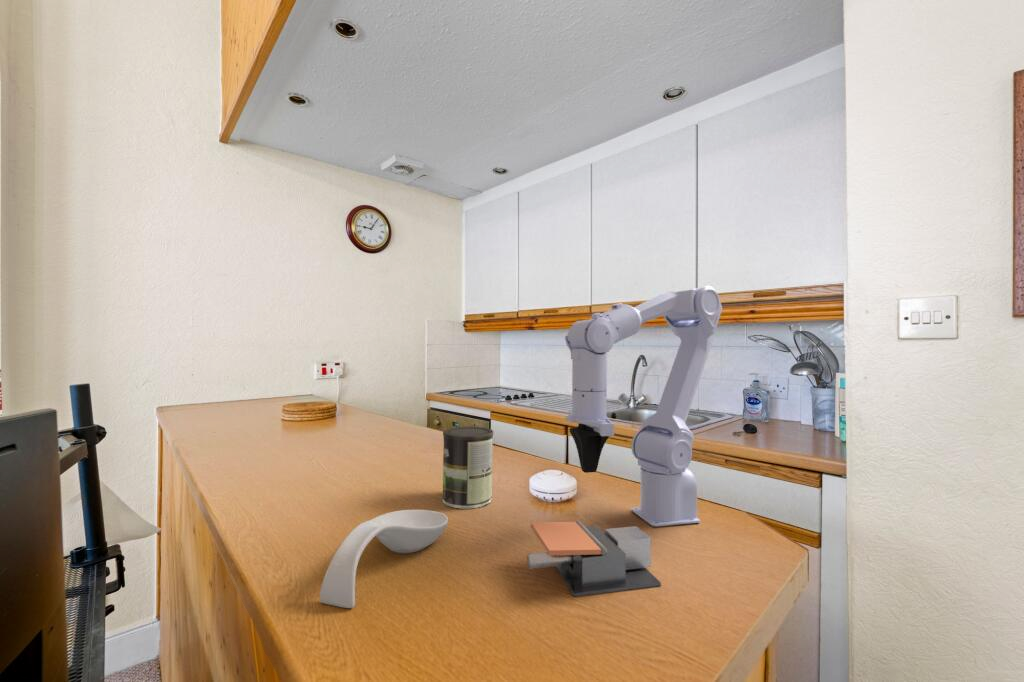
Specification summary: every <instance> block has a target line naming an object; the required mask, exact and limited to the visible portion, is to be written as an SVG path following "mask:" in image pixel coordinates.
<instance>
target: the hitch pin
mask: <svg viewBox="0 0 1024 682" xmlns="http://www.w3.org/2000/svg"><path fill="white" fill-rule="evenodd" d="M604 533H605V534H606V535H607V536H608V537H609V538H610V539H611V540H612V541H613V542H614V543H615V544H616V545H617V546H618V547H619V548H620V549H621V550H622V551H623V552H624V553H626V570H629V569H638V568H646V569H648V568H651V567H652V538H651V537H650V536H649V535H648V534H647V533H645V532H644V531H643V530H642V529H640V528H639V527H638V526H637V525H635V526H633V525H632V526H624V527H612V528H604ZM526 557H527V559H526V560H527V566H528V569H529V570H531V569H532V570H533V569H540V568H541V569H542V568H550V567H555V566H561V565H571V564H573V555H549V554H548V553H547V551H545V552H544V551H543V552H535V553H533V552H532V553H528V554H527V556H526Z"/></svg>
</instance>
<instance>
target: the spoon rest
mask: <svg viewBox="0 0 1024 682" xmlns="http://www.w3.org/2000/svg"><path fill="white" fill-rule="evenodd" d="M448 524H449V518H448V516H447V515H446V514H445V513H443V512H440V511H435V510H428V509H401V510H396V511H391V512H390V511H389V512H386V513H382V514H381V515H377V516H376V517H374V518H372V519H370V520H369V519H368V520H365V521H362V522H361V523H359V524H358V525H357V526H355V527H354V528H353V529H352V530H351V531H350V532H349V533H348V534H347V535H346V537H345V538H344V540H343V541H342V542H341V544H340V545H339V546H338V548H337V550H336V552H335V553H334V554H333V556H332V558H331V561H329V565H328V567H327V569H326V572H325V574H324V576H323V580H322V583H321V587H320V593H319V602H320V603H322V604H325V605H330V606H334V607H338V608H344V609H345V608H346V609H353V608H355V606H356V574H357V568H358V564H359V562H360V559H361V557H362V554H363V552H364V550H365V548H366V547H367V546H368V545H369V543H370V542H371V541H372V540H373V539H374V538H375V537H376V538H377V540H378V541H380V543H381V544H383V546H385V547H386V548H388V549H389V550H390V551H392V552H394V553H398V554H411V553H416V552H420V551H422V550H424V549H426V548H427V547H428V546H430V545H431V544H433V543H434V542H436V541H437V540H438V539H439V538H440V537H441V536H442V535H443V534H444V531H445V530H446V529H447V527H448Z"/></svg>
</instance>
